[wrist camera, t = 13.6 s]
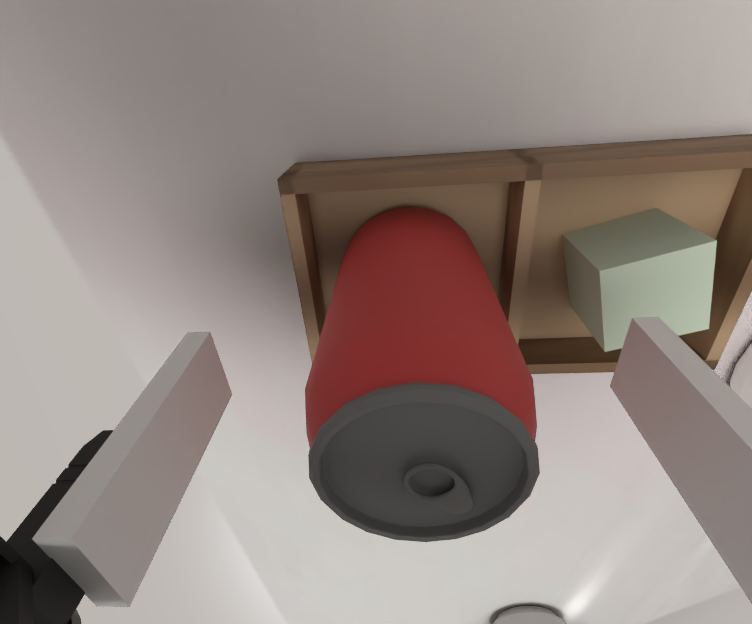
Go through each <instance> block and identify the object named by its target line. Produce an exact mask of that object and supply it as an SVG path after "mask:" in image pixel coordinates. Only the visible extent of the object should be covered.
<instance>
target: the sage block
mask: <svg viewBox="0 0 752 624" xmlns="http://www.w3.org/2000/svg"><path fill="white" fill-rule="evenodd" d="M562 235H563V244H564V253H565V262H566V271H567V280H568V289H569V298H570V305H571V307H572V308H573V309H574V311H575V312H576V313H577V315H578V316H579V318H580V319H581V320H582V322H583V323H584V324H585V326H586V327H587V328H588V330H589V331H590V333H591V334H592V335H593V337H594V338H595V339H596V341H597V342H598V343H599V345H600V346H601V348H602V349H603V350H604V352H607V351H611V350H616V349H621V348H622V347H623V344H624V341H625V338H626V335H627V332H628V329H629V326H630V323H631V319H632V318H640V317H659V318H660V319H661V320H662V321H663V322H664V323H665V324H666V325H667V326H668V327H669V328H670V329H671V330H672V331H673V332H674V333H676V334H677V335H678V336H679V335H684V334H688V333H693V332H697V331H702V330H706V329H709V322H710V311H711V300H712V289H713V279H714V268H715V257H716V246H717V240H715V239H713V238H711V237H710V236H708V235H706V234H704V233H702V232H700V231H698V230H697V229H695V228H693V227H691V226H689V225H687V224H685V223H684V222H682V221H680V220H678V219H676V218H674V217H672V216H671V215H669V214H667V213H665V212H663V211H661V210H659V209H657V208H653V209H649V210H646V211H642V212H638V213H635V214H631V215H628V216H624V217H621V218H617V219H614V220H610V221H607V222H603V223H600V224H596V225H593V226H589V227H586V228H582V229H579V230H575V231H571V232H568V233H564V234H562Z"/></svg>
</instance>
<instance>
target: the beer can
mask: <svg viewBox="0 0 752 624" xmlns="http://www.w3.org/2000/svg"><path fill="white" fill-rule="evenodd" d="M305 402H306V428H307V437H308V441H309V446H310V451H309V478H310V480H311V482H312V484H313V486H314V488H315V490H316V492H317V494H318V495H319V497H320V499H321V500H322V501H323V502H324V503H325V504H326V505H327V506H328V507H329V508H330V509H332V510H333V511H334V512H335V513H336V514H337V515H338V516H339V517H340V518H342V519H343V520H345V521H347V522H349V523H351V524H352V525H354V526H356V527H358V528H360V529H362V530H364V531H366V532H369V533H373V534H377V535H380V536H384V537H388V538H392V539H395V540H408V541H421V542H430V541H440V540H450V539H457V538H461V537H464V536H468V535H471V534H474V533H478V532H481V531H485V530H486V529H488V528H490V527H492V526H494V525H495V524H497V523H499V522H501V521H503V520H504V519H506V518H508V517H509V516H510V515H511V514H512V513H513V512H514V511H515V510H516V509H517V508H518V507H519V506H520V505H521V504H522V503H523V502H524V501H525V500H526V499H527V498H528V497H529V496H530V494H531V492H532V490H533V487H534V485H535V483H536V480H537V478H538V475H539V473H540V472H539V459H538V448H537V445H536V443H535V437H536V428H537V422H536V409H535V397H534V387H533V379H532V376H531V374H530V372H529V369H528V367H527V365H526V363H525V360H524V358H523V356H522V353H521V351H520V349H519V347H518V344H517V342H516V340H515V337H514V335H513V333H512V331H511V328H510V326H509V324H508V321H507V319H506V317H505V315H504V312H503V310H502V308H501V305H500V303H499V301H498V299H497V296H496V294H495V292H494V289H493V287H492V285H491V283H490V280H489V278H488V276H487V273H486V271H485V269H484V266H483V264H482V262H481V260H480V257H479V255H478V253H477V250H476V248H475V247H474V245H473V243H472V241H471V239H470V237H469V236H468V234H467V232H466V231H465V230H464V229H463V228H462V227H461V226H459V225H458V224H457V223H456V222H455V221H454V220H453V219H452V218H450V217H449V216H446V215H444V214H441V213H439V212H436V211H434V210H432V209H429V208H417V207H402V208H398V209H394V210H389V211H385V212H382V213H380V214H379V215H377V216H376V217H374V218H372V219H371V220H369V221H367V222H366V223H364V224H363V225H362V226H361V227H360V229H359V230H358V231H357V232H356V233H355V235H354V236H353V237H352V238H351V239H350V241H349V243H348V246H347V249H346V251H345V254H344V256H343V259H342V263H341V266H340V269H339V273H338V276H337V280H336V283H335V287H334V290H333V294H332V297H331V301H330V304H329V308H328V311H327V315H326V318H325V322H324V325H323V329H322V332H321V336H320V339H319V343H318V346H317V350H316V353H315V357H314V360H313V364H312V367H311V371H310V374H309V378H308V381H307V384H306V388H305Z"/></svg>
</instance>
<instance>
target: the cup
mask: <svg viewBox="0 0 752 624" xmlns="http://www.w3.org/2000/svg"><path fill="white" fill-rule="evenodd" d="M730 388H731V389H732V390H733V391H734V392H735V393H736V394H737V395H738V396H739V397H740V398H741V399H742V400H743V401H744V402H745V403H746V404H747V405H749V406H750V407H751V408H752V342H751V344H750V345H749V346H748V348H747V349H746V351H745V352H744V353H743V355H742V356H741V358H740V359H739V360H738V362H737V363H736V365H735V368H734V371H733V373H732V376H731V379H730Z"/></svg>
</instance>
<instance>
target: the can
mask: <svg viewBox="0 0 752 624" xmlns="http://www.w3.org/2000/svg"><path fill="white" fill-rule="evenodd" d="M493 624H566V623H565V622H564V620H562V619H561V618H559V617H558V616H556V615H555V614H554V613H553V612H552V611H550V610H548V609H546V608H542V607H538V606H519V607H514V608H510V609H508V610H505V611H503V612H502V613H500V614H499V615H498V616H497V618H496V620H495V622H494V623H493Z"/></svg>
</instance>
